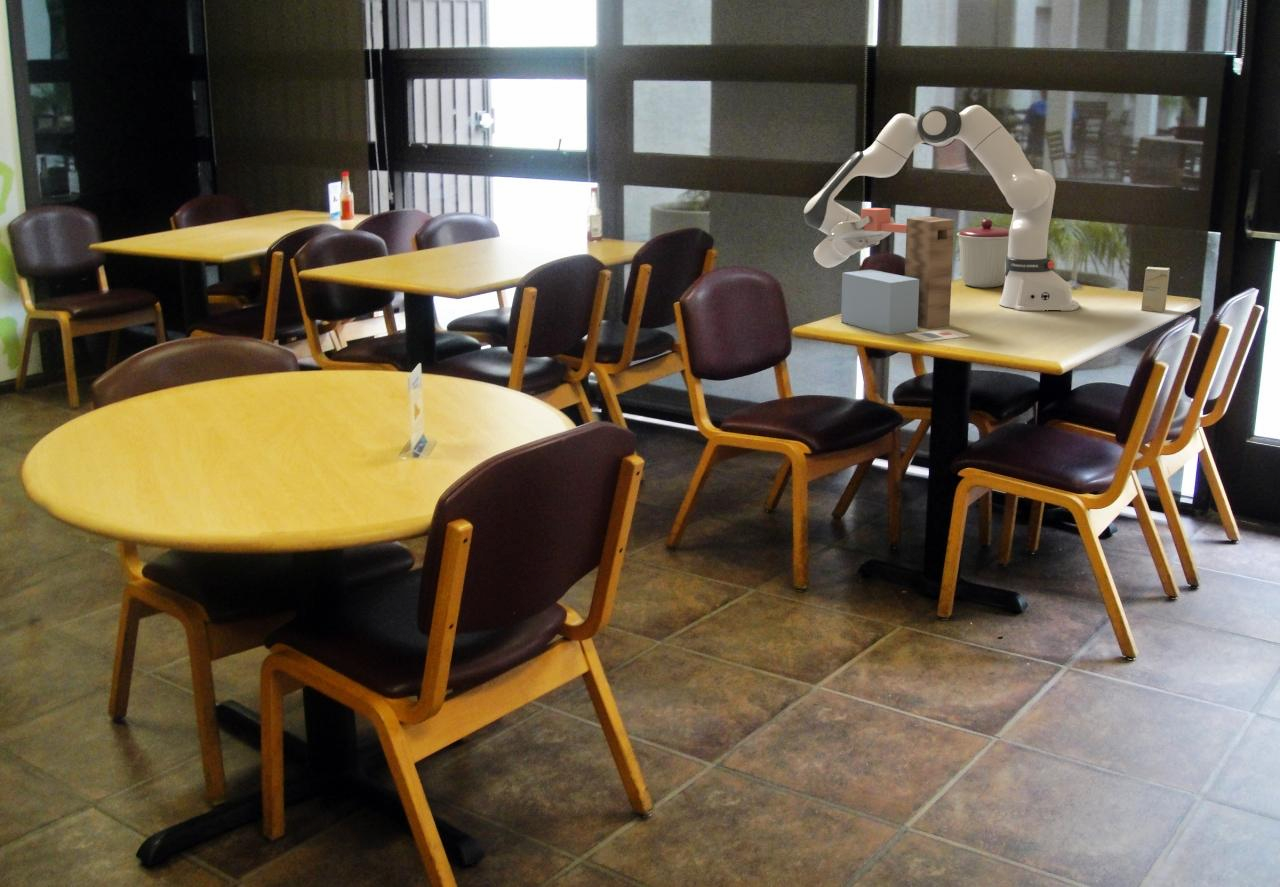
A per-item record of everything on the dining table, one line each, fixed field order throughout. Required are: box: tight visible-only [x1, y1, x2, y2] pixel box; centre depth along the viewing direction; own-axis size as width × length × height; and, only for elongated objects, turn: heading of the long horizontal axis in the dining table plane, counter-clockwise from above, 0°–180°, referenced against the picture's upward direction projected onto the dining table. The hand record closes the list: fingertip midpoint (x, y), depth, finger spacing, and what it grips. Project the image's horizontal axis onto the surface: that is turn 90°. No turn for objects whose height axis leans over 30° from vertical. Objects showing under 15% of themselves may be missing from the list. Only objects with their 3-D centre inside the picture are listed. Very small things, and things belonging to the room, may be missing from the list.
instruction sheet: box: [904, 328, 971, 342], centre depth 367 cm, size 10×14×1 cm
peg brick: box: [860, 207, 907, 234], centre depth 388 cm, size 19×5×6 cm, turn 30°
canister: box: [956, 218, 1009, 288], centre depth 436 cm, size 18×18×21 cm
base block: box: [840, 269, 919, 335], centre depth 378 cm, size 20×10×14 cm, turn 30°
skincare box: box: [1140, 266, 1171, 313], centre depth 393 cm, size 6×4×12 cm
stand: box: [904, 215, 955, 329], centre depth 377 cm, size 10×8×29 cm
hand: (879, 217), depth 391 cm, fingers closed on peg brick, 5 cm apart
